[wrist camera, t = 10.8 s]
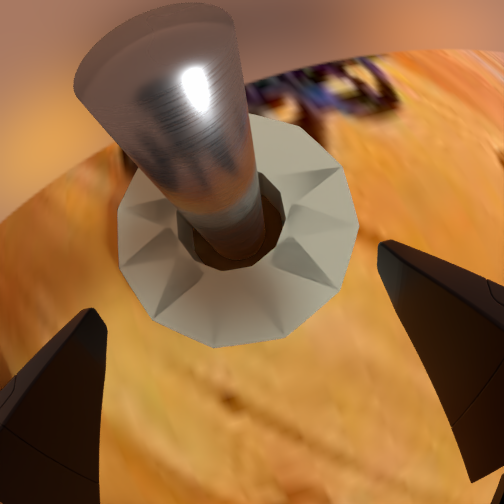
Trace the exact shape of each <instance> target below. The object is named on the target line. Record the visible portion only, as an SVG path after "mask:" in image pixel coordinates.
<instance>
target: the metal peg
mask: <svg viewBox="0 0 504 504" xmlns="http://www.w3.org/2000/svg"><path fill="white" fill-rule="evenodd" d="M73 87H74V92H75V95H76V97H77V98H78V99H79V100H80V101H81V102H82V104H83V105H84V106H85V107H86V108H87V109H88V111H89V112H90V113H91V114H92V115H93V116H94V118H95V119H96V120H97V121H98V122H99V123H100V124H101V125H102V127H103V128H104V129H105V130H106V131H107V132H108V134H109V135H110V136H111V137H112V138H113V139H114V140H115V141H116V143H117V144H118V145H119V146H120V147H121V148H122V149H123V150H124V152H125V153H126V154H127V155H128V156H129V157H130V158H131V159H132V161H133V162H134V163H135V164H136V165H137V166H138V167H139V168H140V169H141V171H142V172H143V173H144V174H145V175H146V176H147V177H148V178H149V179H150V180H151V182H152V183H153V184H154V185H155V186H156V187H157V188H158V189H159V190H160V191H161V192H162V194H163V195H164V196H165V197H166V198H167V199H168V200H169V201H170V202H171V203H172V204H173V205H174V207H175V208H176V209H177V210H178V211H179V212H180V213H181V214H182V215H183V216H184V217H185V218H186V219H187V221H188V222H189V223H190V224H191V225H192V226H193V227H194V228H195V229H196V230H197V231H198V232H199V233H200V234H201V235H202V236H203V238H204V239H205V240H206V241H207V242H208V243H209V244H210V245H211V246H212V247H213V248H214V249H215V250H216V251H217V252H218V253H219V254H220V255H221V256H223V257H225V258H227V259H231V260H243V259H247V258H249V257H251V256H253V255H254V254H255V253H256V252H257V251H258V250H259V249H260V248H261V246H262V245H263V242H264V239H265V234H266V232H265V223H264V216H263V209H262V201H261V194H260V187H259V180H258V173H257V166H256V159H255V153H254V146H253V139H252V132H251V126H250V119H249V113H248V106H247V100H246V93H245V87H244V81H243V75H242V68H241V62H240V56H239V51H238V44H237V38H236V32H235V26H234V22H233V19H232V17H231V16H230V15H229V14H228V12H226V11H225V10H223V9H221V8H219V7H217V6H214V5H210V4H204V3H181V4H180V3H179V4H173V5H168V6H163V7H160V8H157V9H153V10H150V11H147V12H145V13H143V14H140V15H138V16H135V17H133V18H132V19H130V20H128V21H126V22H124V23H123V24H121V25H119V26H118V27H116V28H115V29H113V30H112V31H110V32H109V33H108V34H106V35H105V36H104V37H103V38H102V39H101V40H100V41H99V42H97V43H96V44H95V45H94V47H92V49H91V50H90V51H89V52H88V53H87V55H86V56H85V57H84V59H83V60H82V62H81V63H80V65H79V67H78V69H77V72H76V74H75V78H74V86H73Z"/></svg>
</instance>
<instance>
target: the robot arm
mask: <svg viewBox="0 0 504 504" xmlns="http://www.w3.org/2000/svg"><path fill="white" fill-rule="evenodd" d="M377 269H378V272H379V275H380V277H381V279H382V281H383V284H384V286H385V288H386V290H387V293H388V295H389V297H390V300H391V302H392V304H393V307H394V309H395V311H396V313H397V315H398V317H399V319H400V321H401V323H402V325H403V326H404V328H405V330H406V332H407V334H408V336H409V338H410V340H411V342H412V343H413V345H414V347H415V349H416V351H417V353H418V355H419V357H420V359H421V361H422V363H423V365H424V367H425V369H426V371H427V374H428V376H429V378H430V380H431V382H432V384H433V386H434V389H435V391H436V393H437V395H438V397H439V400H440V402H441V404H442V407H443V409H444V411H445V414H446V416H447V418H448V421H449V423H450V426H451V427H452V428H451V429H452V431H453V434H454V436H455V439H456V442H457V444H458V447H459V450H460V452H461V455H462V458H463V461H464V464H465V467H466V470H467V473H468V476H469V479H470V481H471V483H474V482H476V481H477V480H479V479H481V478H483V477H485V476H487V475H489V474H491V473H492V472H494V471H496V470H498V469H499V468H501V467H503V466H504V286H502V285H499V284H497V283H495V282H493V281H491V280H489V279H487V280H486V278H484V277H482V276H479V275H477V274H475V273H473V272H470V271H468V270H466V269H464V268H461V267H459V266H457V265H454V264H452V263H449V262H447V261H445V260H442V259H440V258H437V257H435V256H432V255H430V254H427V253H425V252H422V251H420V250H417V249H415V248H412V247H410V246H407V245H405V244H402V243H399V242H397V241H394V240H386V241H383V242H380V243H379V244H378V256H377ZM107 334H108V331H107V327H106V325H105V323H104V322H103V320H102V319H101V317H100V316H99V314H98V313H97V311H96V310H95V309H94V308H87V309H83V310H81V311H80V312H79V313H78V314H77V315H76V316H75V317H74V318H73V319H72V320H71V321H69V322H68V323H67V324H66V325H65V326H64V327H63V328H62V329H61V330H60V331H59V332H58V333H57V334H56V335H55V336H54V337H53V338H52V339H51V340H50V341H49V342H48V343H47V344H46V345H45V346H43V347H42V348H41V349H40V350H39V351H38V352H37V353H36V354H35V355H34V357H33V358H32V359H31V360H30V361H29V362H28V363H27V364H26V365H25V366H24V367H23V368H22V369H21V370H20V371H19V372H18V373H17V375H15V376H14V377H13V378H12V379H11V380H10V382H9V383H8V384H7V385H6V386H5V387H4V388H3V389H2V390H1V391H0V504H100V490H99V443H100V424H101V410H102V399H103V389H104V381H105V371H106V349H107ZM491 504H504V474H502V476H501V479H500V481H499V484H498V487H497V489H496V492H495V494H494V497H493V499H492V502H491Z"/></svg>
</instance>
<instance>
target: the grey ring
mask: <svg viewBox="0 0 504 504" xmlns="http://www.w3.org/2000/svg"><path fill="white" fill-rule="evenodd" d="M249 119H250V126H251V132H252V139H253V146H254V153H255V159H256V166H257V173H258V180H259V187H260V194H261V195H263V196H265V197H266V198H267V199H268V200H269V201H270V202H271V204H272V205H273V206H274V207H275V208H276V209H277V210H278V211H279V212H280V215H281V220H282V225H283V229H282V232H281V234H280V237H279V240H278V243H277V245H276V247H275V248H274V249H273V250H271V251H270V252H269V253H268V254H266V255H265V256H264V257H263V258H262V259H260V260H259V261H258V262H257V263H255V264H254V265H253V266H250V267H245V268H239V269H233V270H227V271H220V270H217V269H215V268H212V267H209V266H207V265H205V264H204V263H203V262H202V260H201V259H200V258H199V256H198V255H197V254H196V252H195V248H194V239H193V226H192V225H191V224H190V223H189V222H188V221H187V219H186V218H185V217H184V216H183V215H182V214H181V213H180V212H179V211H178V210H177V209H176V208H175V207H174V205H173V204H172V203H171V202H170V201H169V200H168V199H167V198H166V197H165V196H164V195H163V194H162V192H161V191H160V190H159V189H158V188H157V187H156V186H155V185H154V184H153V183H152V182H151V180H150V179H149V178H148V177H147V176H146V175H145V174H144V173H143V172H142V171H141V169H140V168H139V167H138V169H137V171H136V173H135V175H134V177H133V179H132V181H131V183H130V185H129V187H128V189H127V191H126V193H125V195H124V197H123V199H122V201H121V203H120V205H119V207H118V210H117V222H118V257H119V269H120V270H121V272H122V274H123V275H124V277H125V279H126V280H127V282H128V284H129V285H130V287H131V288H132V290H133V292H134V293H135V295H136V296H137V298H138V299H139V301H140V302H141V304H142V305H143V307H144V308H145V310H146V311H147V313H148V314H149V316H150V317H151V319H152V320H153V321H155V322H157V323H159V324H161V325H163V326H165V327H168V328H170V329H172V330H174V331H176V332H178V333H180V334H182V335H185V336H187V337H189V338H191V339H194V340H196V341H198V342H200V343H203V344H205V345H207V346H210V347H212V348H218V347H227V346H234V345H242V344H249V343H256V342H262V341H269V340H275V339H281V338H285V337H286V336H288V335H289V334H290V333H291V332H293V331H294V330H295V329H296V328H297V327H299V326H300V325H301V324H302V323H303V322H305V321H306V320H307V319H308V318H309V317H310V316H312V315H313V314H314V313H315V312H316V311H317V310H319V309H320V308H321V307H322V306H323V305H324V304H325V303H327V302H328V301H329V300H330V299H331V298H332V297H333V296H335V295H336V294H337V293H338V292H339V291H340V289H341V286H342V282H343V279H344V276H345V273H346V270H347V267H348V263H349V260H350V257H351V254H352V250H353V247H354V243H355V240H356V236H357V233H358V229H359V223H358V219H357V215H356V211H355V208H354V204H353V201H352V197H351V193H350V190H349V187H348V183H347V180H346V177H345V173H344V170H343V167H342V166H341V165H340V164H339V163H338V162H337V161H336V160H335V159H334V158H333V157H332V156H331V155H330V154H329V153H328V152H327V151H326V150H325V149H324V148H323V147H321V146H320V145H319V144H318V143H317V142H316V141H315V140H314V139H313V138H312V137H311V136H309V135H308V134H307V133H306V132H305V131H304V130H303V129H302V128H300V127H299V126H295V125H292V124H288V123H285V122H281V121H277V120H273V119H270V118H266V117H262V116H257V115H253V114H249Z"/></svg>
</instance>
